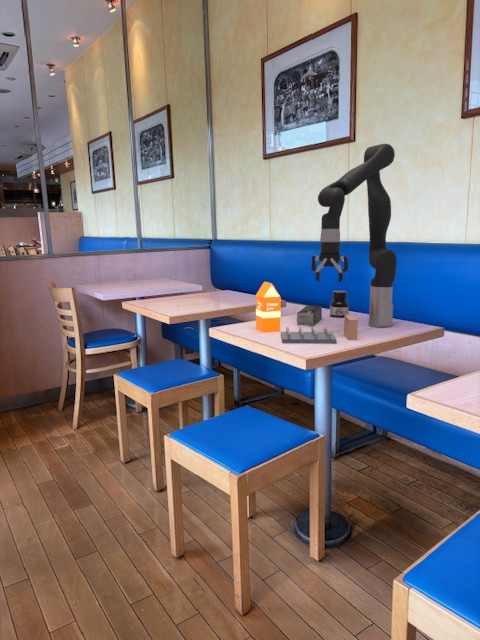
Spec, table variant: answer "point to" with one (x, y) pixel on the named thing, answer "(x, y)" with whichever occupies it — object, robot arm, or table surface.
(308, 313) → the weathered grey box
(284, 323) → the table surface
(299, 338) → the rack
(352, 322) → the wooden block
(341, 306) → the ink bottle
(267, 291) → the orange juice
